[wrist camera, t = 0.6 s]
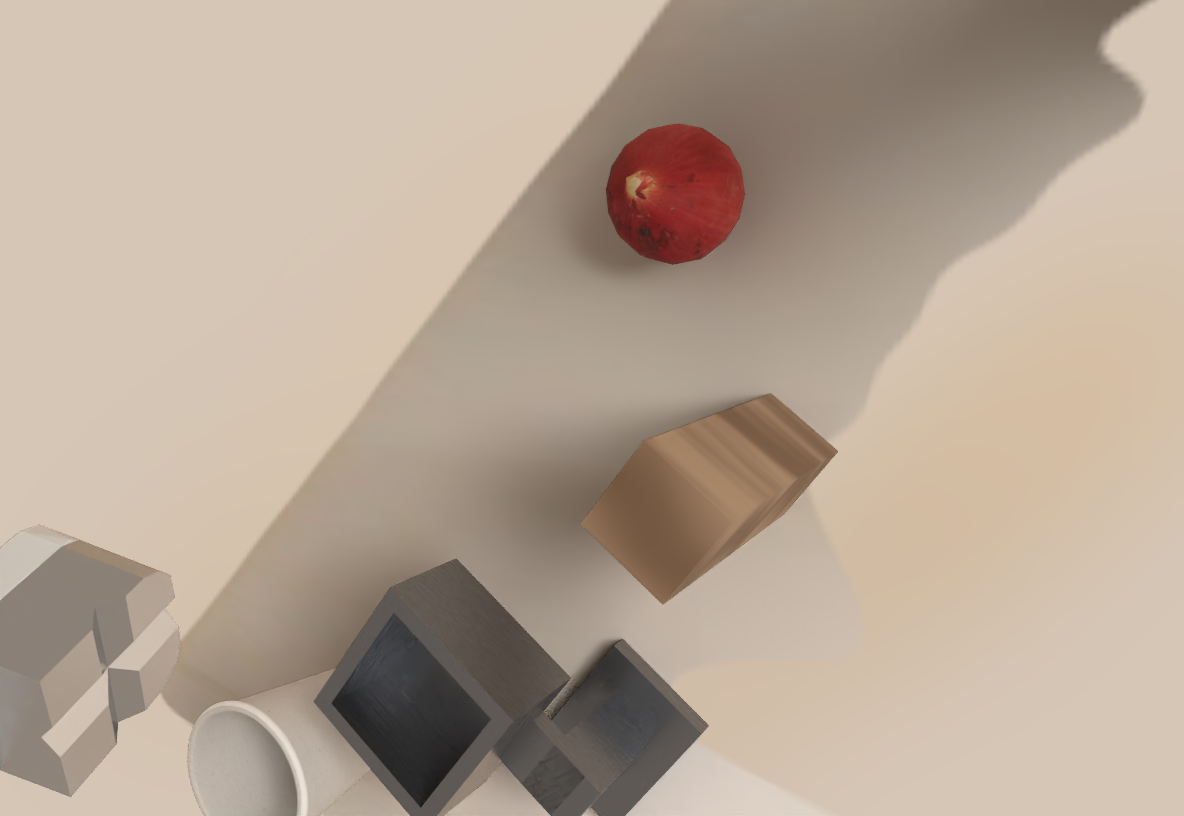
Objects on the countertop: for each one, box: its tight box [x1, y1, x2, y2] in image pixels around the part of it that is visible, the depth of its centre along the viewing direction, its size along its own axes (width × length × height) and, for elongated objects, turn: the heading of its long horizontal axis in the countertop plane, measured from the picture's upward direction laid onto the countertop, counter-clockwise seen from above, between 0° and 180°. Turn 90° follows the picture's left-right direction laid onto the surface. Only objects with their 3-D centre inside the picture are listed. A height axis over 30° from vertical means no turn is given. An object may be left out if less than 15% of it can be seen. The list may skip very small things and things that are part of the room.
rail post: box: [581, 394, 838, 604], centre depth 40 cm, size 4×4×14 cm
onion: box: [606, 124, 745, 265], centre depth 42 cm, size 6×6×8 cm
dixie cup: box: [188, 668, 370, 816], centre depth 55 cm, size 8×8×10 cm
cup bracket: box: [313, 559, 708, 816], centre depth 48 cm, size 8×14×10 cm, turn 52°
